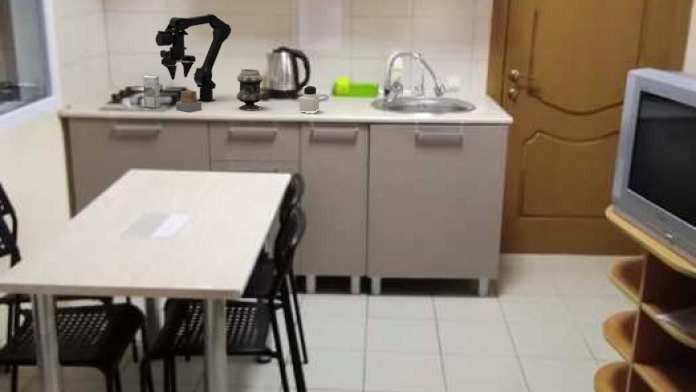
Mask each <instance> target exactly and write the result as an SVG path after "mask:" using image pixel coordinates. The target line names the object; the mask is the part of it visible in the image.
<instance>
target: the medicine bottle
mask: <svg viewBox="0 0 696 392" xmlns="http://www.w3.org/2000/svg"><path fill="white" fill-rule="evenodd" d="M302 95H303V96H300V97H299V110H300V111H316V110H318V109H319V110H320V96H317V88H316V86H312V85H306V86H303V88H302Z"/></svg>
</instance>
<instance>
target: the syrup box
mask: <svg viewBox="0 0 696 392" xmlns="http://www.w3.org/2000/svg"><path fill="white" fill-rule="evenodd" d="M142 78H143V79H142V80H143V82H142V83H143V98H144V100H143V102H144V103H143V104H144V108H147V109H157V108H159V107H160V106H161V100H160V99H161V97H160V96H161V95H160V76H159V75H152V74H145V75H144V76H142Z"/></svg>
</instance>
